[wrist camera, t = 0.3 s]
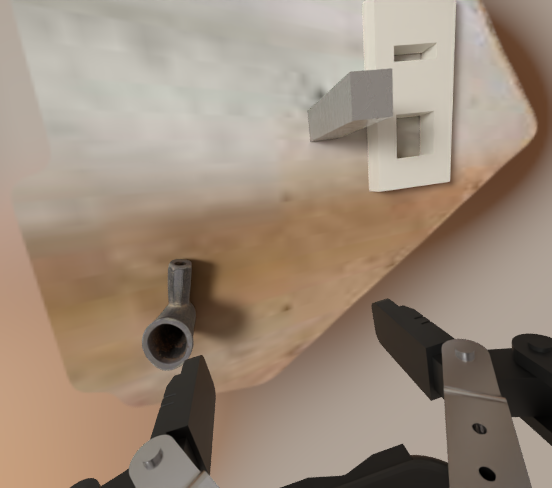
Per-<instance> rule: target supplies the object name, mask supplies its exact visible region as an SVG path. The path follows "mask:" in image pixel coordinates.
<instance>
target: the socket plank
mask: <svg viewBox="0 0 552 488" xmlns="http://www.w3.org/2000/svg"><path fill="white" fill-rule="evenodd" d="M362 16H363V42H364V68H365V71H366V70H378V69H389V68H392V75H393V117H391V118H388V119H385V120H383V121H380V122H378V123H375V124H373V125H370V126H368V127H367V146H368V172H369V191H376V192H381V191H388V190H395V189H402V188H409V187H416V186H423V185H430V184H437V183H444V182H450V167H451V138H452V108H453V78H454V48H455V19H456V0H365V1H364V2H363V4H362ZM415 53H422V60H410V61H398V62H394V55H402V54H415ZM414 116H420V156H413V157H405V158H397V132H396V118H405V117H414Z"/></svg>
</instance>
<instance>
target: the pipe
mask: <svg viewBox="0 0 552 488" xmlns="http://www.w3.org/2000/svg"><path fill="white" fill-rule="evenodd" d="M191 272H192V263H191V261H189V260H183V259H175V260H172V261H171V262H170V264H169V267H168V298H169V304H168V305H167V307H166V308H165V309H164V310H163V312H162V313H161V314H160V315H159V316H158V318H157V319H156V320H155V321H154V322H152V323H151V324H150V325H149V326H148V327H147V328H146V330H145V331H144V334H143V338H142V348H143V351H144V353H145V355H146V357H147V358H148V359H149V361H150V362H151V363H152V364H153V365H154V366H155V367H157V368H159V369H161V370H164V371H165V370H168V371H169V370H173V369H176V368H178V367H180V366H181V365H183V363H184V361H185V360H187V359H188V358H189V356H190V354H191V352H192V349H193V332H194V325H195V320H196V311H195V308H194V306H193V305H192V304H191V303H190V302H189V296H190V287H191Z"/></svg>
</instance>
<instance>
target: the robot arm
mask: <svg viewBox="0 0 552 488" xmlns="http://www.w3.org/2000/svg"><path fill="white" fill-rule="evenodd" d="M372 313H373V319H374V325H375V331H376V335H377V338H378V340H379V342H380V343H381V345H382V346H383V347H384V348H385V349H386V351H387V352H388V353H389V354H390V355H391V356H392V357H393V358H394V359H395V361H396V362H397V363H398V364H399V365H400V366H401V367H402V369H403V370H404V371H405V372H406V373H407V374H408V375H409V376H410V377H411V378H412V380H413V381H414V382H415V383H416V384H417V385H418V387H419V388H420V389H421V390H422V391H423V392H424V393H425V394H426V395H427V397H428V398H429V399H430V400H431V401H432V400H434V399H437V398H440V397H442V398H443V399H444V401H445V402H444V403H445V420H446V434H447V435H446V436H447V453H448V463H447V462H445V461H442V460H439V459H436V458H433V457H428V456H421V455H410V454H409V453H408V451H407V450H406V448H405V446H404V445H403V444H400V445H398V446H395V447H392V448H389V449H387V450H384V451H381V452H378V453H376V454H373V455H371V456H370V457H369V458H367V459H366V460H365V461H363V462H362V463H361V464H359V465H358V466H357V467H355V468H354V469H353V470H351V471H350V472H349V473H347V474H346V475H343V476H330V477H315V478H314V477H313V478H306V479H303V480H301V481H298V482H295V483H292V484H290V485H287V486H284V487H281V488H532V487H531V483H530V479H529V476H528V472H527V469H526V466H525V462H524V459H523V455H522V452H521V448H520V445H519V441H518V438H517V435H516V431H515V428H514V424H513V421H512V417H520V418H521V419H522V420H524V421H525V422H526V423H527V424H528V425H529V426H530V427H531V428H532V429H534V430H535V431H536V432H537V433H538V434H539V435H541V437H542V438H543V439H545V440H546V441H547V442H548V443H549V444H550V445H551V446H552V338H550V337H547V336H543V335H538V334H521V335H518V336H515V337H514V338H513V339H512V348H508V349H493V350H487V349H486V348H485V347H483V346H482V345H480V344H479V343H476V342H474V341H471V340H466V339H454V338H453V337H452V336H450V335H449V334H448V333H446V332H445V331H443V330H442V329H441V328H439V327H438V326H436V325H435V324H434V323H432V322H430V321H429V320H428V319H427V318H425V317H423V315H421V314H420V313H419V312H417V311H416V310H414V309H412V308H409V307H406V306H398V305H396V304H395V303H394V302H393V301H391V300H390V299H384V300H381V301H378V302H375V303H372ZM215 397H216V395H215V387H214V383H213V381H212V378H211V375H210V372H209V370H208V367H207V364H206V362H205V359H204V357H203V356H202V355H200V356H197V357H193V358H190V359H187V360H185V361H184V363H183V367H182V371H181V374H179V375H175V376H174V377H173V378H172V380H171V381H170V383H169V384H168V385H167V387H166V390H165V394H164V399H163V400H162V403H161V408H160V410H159V413H158V416H157V419H156V423H155V426H154V429H153V432H152V435H151V439H150V440H149V441H148V442H146V443H145V444H144V445H143V446H142V447H141V448H140V449H139V450H138V451H137V452H136V454H135V455H134V457H133V459H132V461H131V463H130V466H129V469H127V470H126V471H125V472H123V473H122V474H120V475H118V476H117V477H115V478H114V479H112V480H110V481H109V482H107V483H106V484H104V485H102V486H100V484H99V482H98V481H97V480H96V479H94V478H88V479H85V480H82V481H80V482H78V483H76V484H74V485H73V486H72V487H70V488H219V487H218V486H217V484H216V483H215V482H214V481H213V479H212V478H211V477H210V466H211V453H212V439H213V425H214V413H215V399H216V398H215Z"/></svg>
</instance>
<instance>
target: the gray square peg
mask: <svg viewBox="0 0 552 488" xmlns="http://www.w3.org/2000/svg"><path fill="white" fill-rule="evenodd" d="M391 117H393V75H392V68H389V69H378V70H366V71H354V72H349V73H348V74H347V75H346V76H345V77H344V78H343V79H342V80H341V81H339V82H338V83H337V84H336V85H335V86H334V87H333V88H332V89H331V90H330V91H329V92H328V93H326V94H325V95H324V96H323V97H322V98H321V99H320V100H319V101H318V102H317V103H316V104H314V105H313V106H312V107H311V108H310V109H309V110H308V122H309V133H310V142H311V141H320V140H329V139H337V138H340V137H342V136H345V135H347V134H350V133H353V132H355V131H358V130H360V129H363V128H365V127H368V126H370V125H373V124H375V123H378V122H380V121H383V120H385V119H388V118H391Z"/></svg>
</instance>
